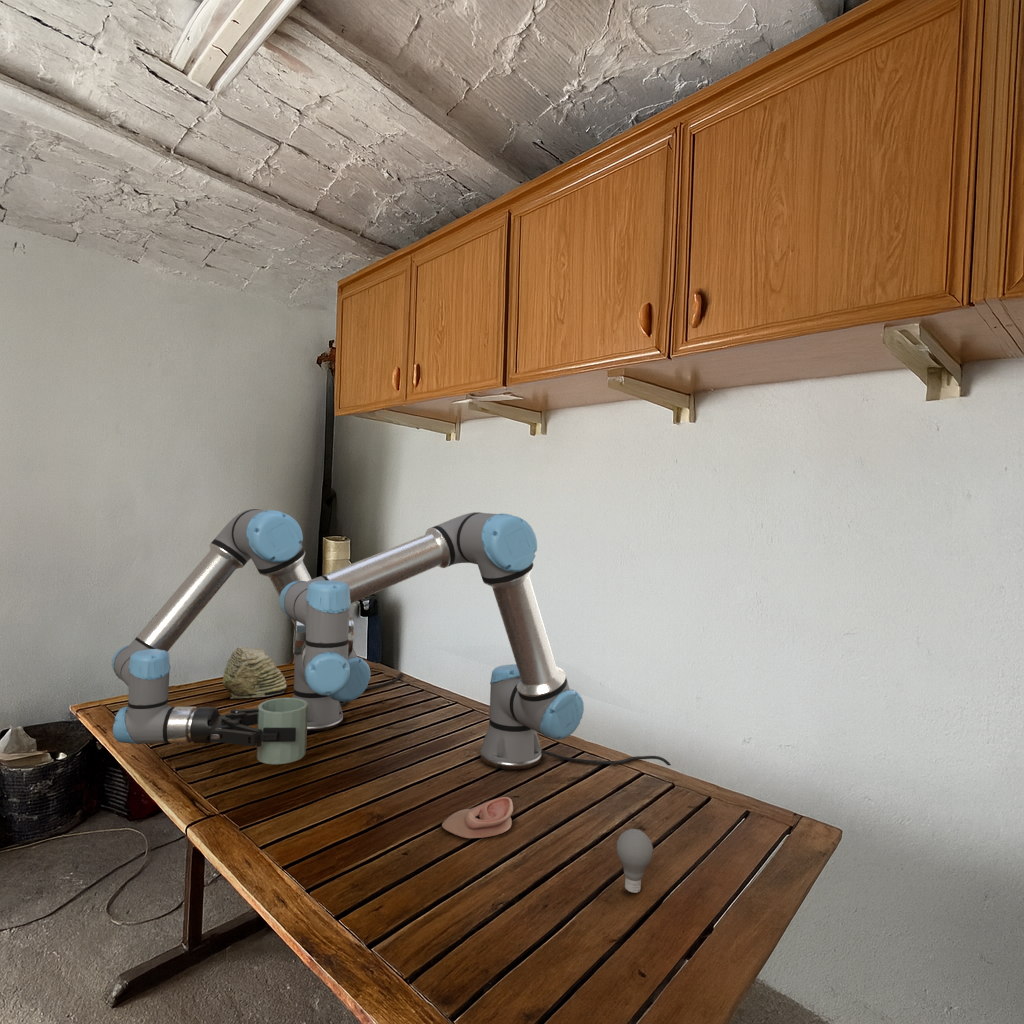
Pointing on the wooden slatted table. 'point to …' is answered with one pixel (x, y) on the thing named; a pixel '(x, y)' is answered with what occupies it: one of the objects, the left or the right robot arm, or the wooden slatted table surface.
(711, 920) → the wooden slatted table surface
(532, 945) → the wooden slatted table surface
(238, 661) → the fossil
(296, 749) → the pot
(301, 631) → the tumbler
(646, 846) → the light bulb
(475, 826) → the anatomical model
